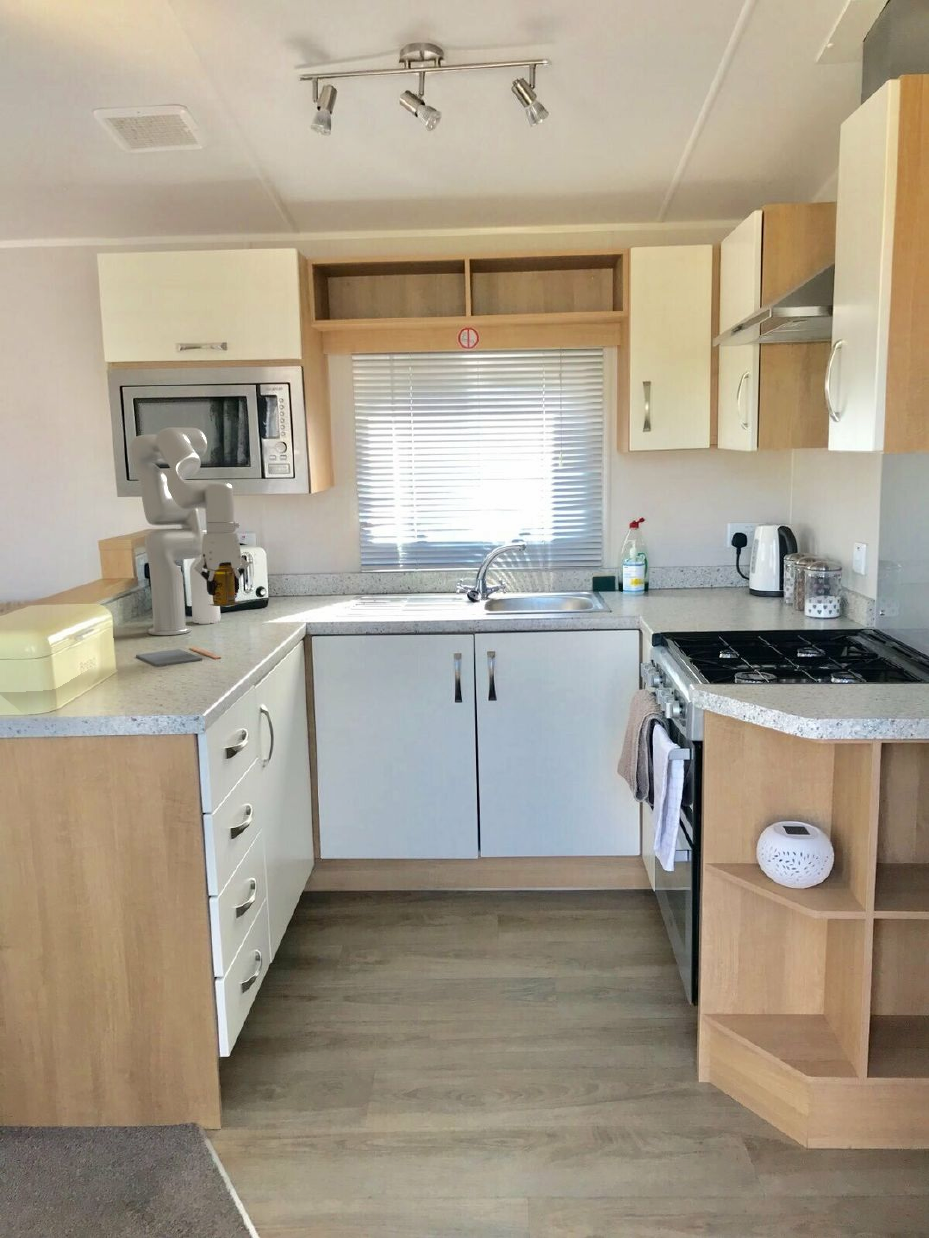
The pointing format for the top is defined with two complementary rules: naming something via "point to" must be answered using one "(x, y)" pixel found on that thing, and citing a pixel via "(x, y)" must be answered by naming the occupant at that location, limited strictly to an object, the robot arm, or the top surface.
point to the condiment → (224, 586)
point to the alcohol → (202, 597)
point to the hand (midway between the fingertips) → (223, 593)
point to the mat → (168, 657)
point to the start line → (205, 653)
